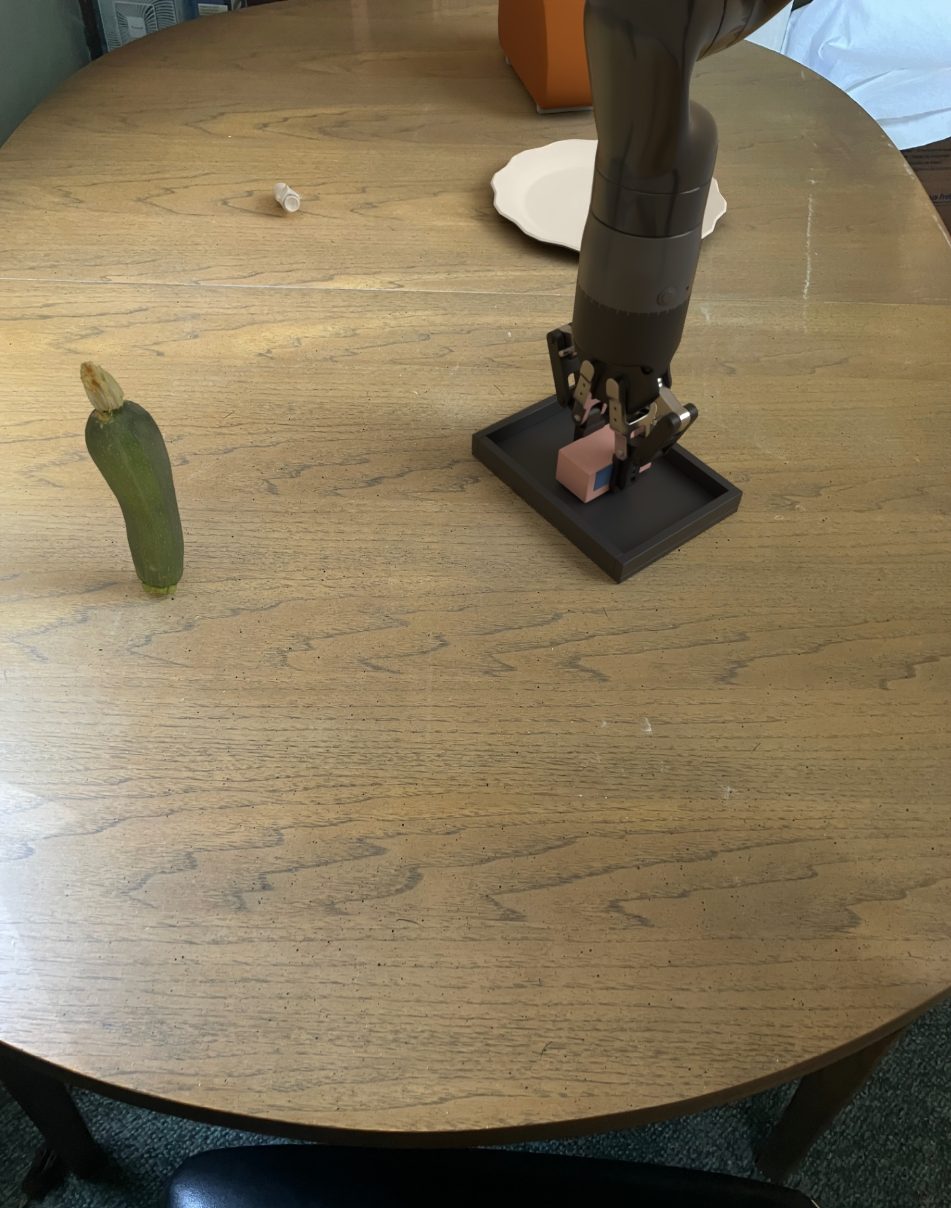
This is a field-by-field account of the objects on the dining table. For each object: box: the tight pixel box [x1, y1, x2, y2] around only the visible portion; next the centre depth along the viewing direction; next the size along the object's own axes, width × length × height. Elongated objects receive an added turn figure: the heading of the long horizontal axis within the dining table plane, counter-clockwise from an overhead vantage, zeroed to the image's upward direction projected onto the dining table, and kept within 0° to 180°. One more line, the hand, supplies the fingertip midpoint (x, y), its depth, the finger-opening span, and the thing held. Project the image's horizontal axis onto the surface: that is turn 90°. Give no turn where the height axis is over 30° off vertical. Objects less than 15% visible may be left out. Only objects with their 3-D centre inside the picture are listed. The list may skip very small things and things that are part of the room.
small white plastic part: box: [272, 182, 302, 213], centre depth 101 cm, size 4×6×3 cm, turn 177°
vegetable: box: [79, 360, 185, 595], centre depth 60 cm, size 4×4×20 cm
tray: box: [471, 383, 744, 585], centre depth 75 cm, size 18×13×2 cm
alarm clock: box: [497, 0, 593, 115], centre depth 117 cm, size 23×9×17 cm, turn 13°
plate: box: [489, 138, 728, 254], centre depth 103 cm, size 25×25×2 cm
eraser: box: [556, 424, 651, 503], centre depth 74 cm, size 4×7×3 cm, turn 128°
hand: (602, 472), depth 75 cm, fingers closed on eraser, 3 cm apart
